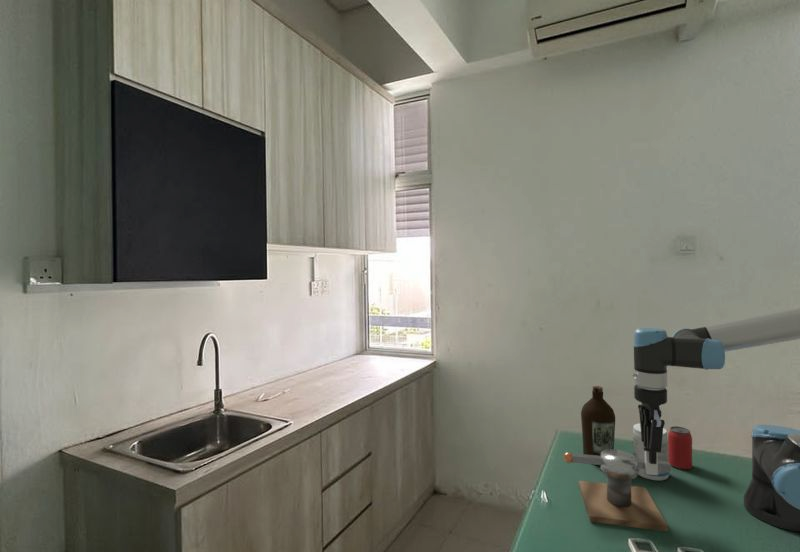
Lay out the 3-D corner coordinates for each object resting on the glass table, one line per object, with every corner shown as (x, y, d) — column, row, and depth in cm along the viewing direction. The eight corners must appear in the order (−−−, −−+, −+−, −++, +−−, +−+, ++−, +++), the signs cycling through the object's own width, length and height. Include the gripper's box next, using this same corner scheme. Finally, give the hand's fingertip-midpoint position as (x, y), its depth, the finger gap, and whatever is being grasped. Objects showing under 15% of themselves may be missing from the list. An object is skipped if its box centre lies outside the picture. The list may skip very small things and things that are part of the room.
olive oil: (576, 452, 147) (575, 382, 147) (607, 452, 147) (606, 382, 146) (588, 466, 137) (588, 392, 136) (621, 466, 136) (621, 391, 135)
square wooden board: (645, 492, 121) (644, 459, 121) (667, 531, 104) (667, 493, 103) (578, 485, 126) (578, 454, 125) (590, 521, 108) (589, 485, 108)
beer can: (665, 465, 137) (665, 429, 136) (671, 458, 141) (671, 424, 141) (689, 472, 132) (689, 435, 131) (694, 465, 136) (694, 429, 136)
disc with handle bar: (663, 467, 116) (663, 453, 116) (676, 484, 107) (676, 469, 107) (561, 458, 122) (561, 445, 122) (565, 473, 114) (565, 459, 113)
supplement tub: (674, 475, 130) (674, 429, 129) (659, 485, 125) (659, 437, 124) (642, 463, 138) (642, 420, 138) (627, 472, 133) (627, 427, 132)
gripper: (627, 379, 118) (628, 461, 118) (642, 392, 105) (643, 484, 106) (657, 380, 116) (658, 463, 116) (676, 394, 103) (676, 487, 104)
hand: (651, 473), depth 111 cm, fingers closed
